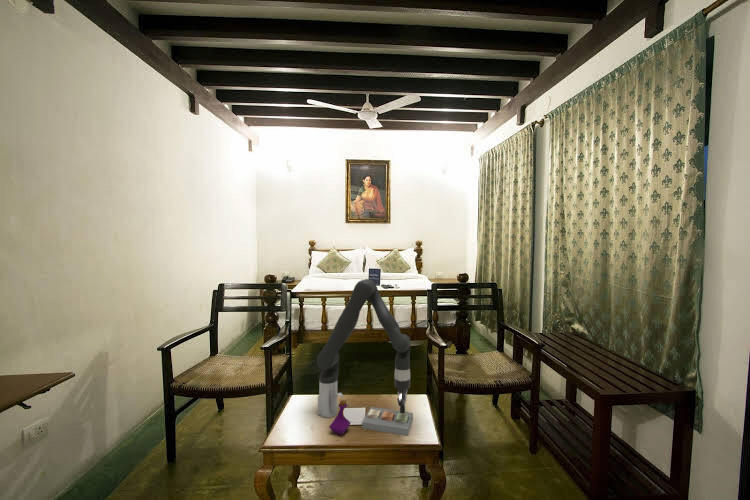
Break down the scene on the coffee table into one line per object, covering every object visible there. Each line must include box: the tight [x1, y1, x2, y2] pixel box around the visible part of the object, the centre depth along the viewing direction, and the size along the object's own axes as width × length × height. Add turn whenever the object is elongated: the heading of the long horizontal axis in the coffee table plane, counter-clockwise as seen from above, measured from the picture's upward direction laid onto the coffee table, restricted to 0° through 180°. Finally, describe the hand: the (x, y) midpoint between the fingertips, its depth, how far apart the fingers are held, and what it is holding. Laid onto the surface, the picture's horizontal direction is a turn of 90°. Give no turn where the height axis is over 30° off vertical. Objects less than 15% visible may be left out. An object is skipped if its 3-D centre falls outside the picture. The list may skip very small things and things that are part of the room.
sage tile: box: [396, 413, 408, 423], centre depth 159 cm, size 5×5×2 cm
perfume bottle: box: [328, 392, 352, 436], centre depth 154 cm, size 8×8×18 cm
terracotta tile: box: [382, 411, 394, 421], centre depth 161 cm, size 5×5×2 cm
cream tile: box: [367, 409, 381, 419], centre depth 163 cm, size 5×5×2 cm
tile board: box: [361, 406, 414, 437], centre depth 161 cm, size 22×15×3 cm
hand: (402, 412), depth 159 cm, fingers closed
